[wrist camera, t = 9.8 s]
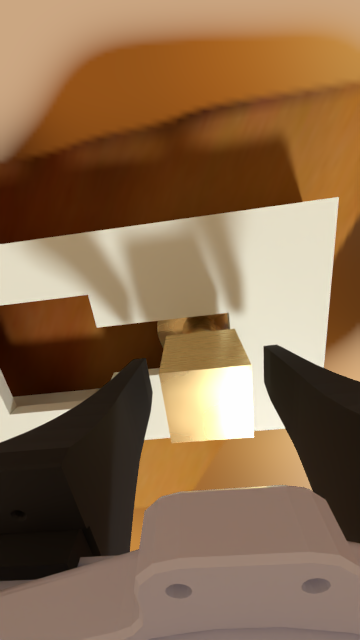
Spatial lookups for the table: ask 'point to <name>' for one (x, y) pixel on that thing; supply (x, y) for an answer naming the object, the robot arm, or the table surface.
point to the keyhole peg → (205, 379)
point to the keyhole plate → (185, 290)
